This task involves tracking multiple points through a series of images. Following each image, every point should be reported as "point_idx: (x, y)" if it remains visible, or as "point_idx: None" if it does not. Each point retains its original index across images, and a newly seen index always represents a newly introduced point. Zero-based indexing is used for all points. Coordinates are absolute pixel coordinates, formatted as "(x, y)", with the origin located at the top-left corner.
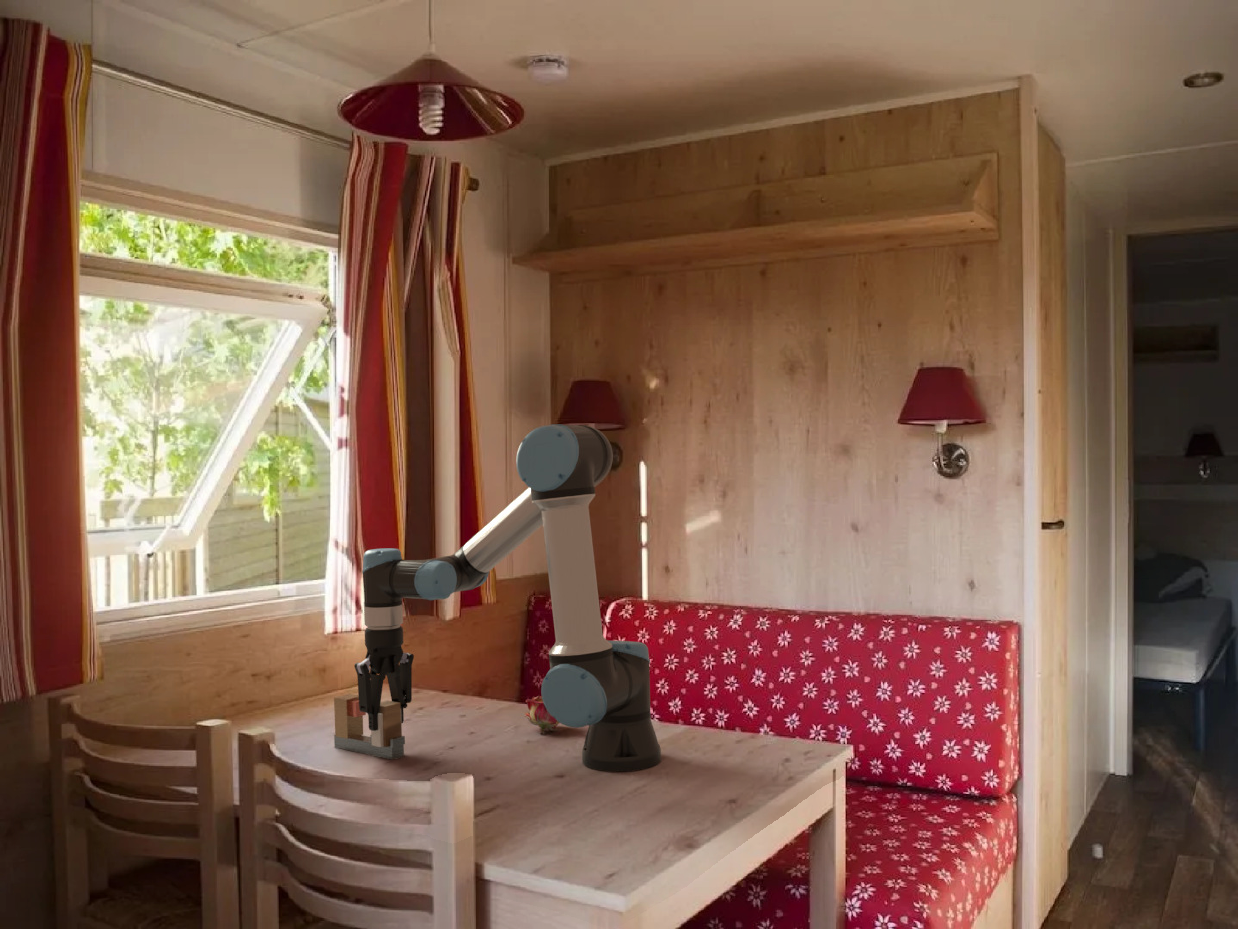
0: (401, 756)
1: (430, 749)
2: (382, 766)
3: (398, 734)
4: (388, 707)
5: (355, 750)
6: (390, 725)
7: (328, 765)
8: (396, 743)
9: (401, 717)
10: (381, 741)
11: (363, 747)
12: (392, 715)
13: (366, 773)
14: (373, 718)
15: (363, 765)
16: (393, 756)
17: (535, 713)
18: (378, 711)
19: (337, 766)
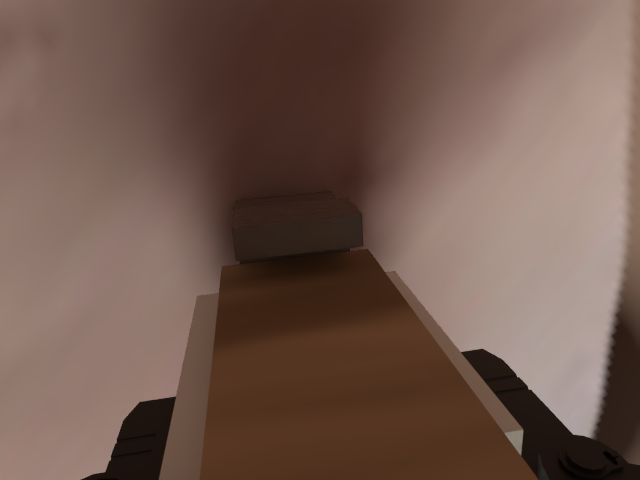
0: (255, 201)
1: (3, 206)
2: (448, 126)
3: (250, 292)
4: (450, 472)
5: None
6: (355, 327)
7: (567, 363)
8: (318, 207)
9: (148, 439)
10: (397, 288)
11: None
12: (343, 394)
13: (590, 80)
14: (554, 425)
15: (488, 233)
16: (324, 196)
17: None
18: (560, 464)
19: (561, 319)
